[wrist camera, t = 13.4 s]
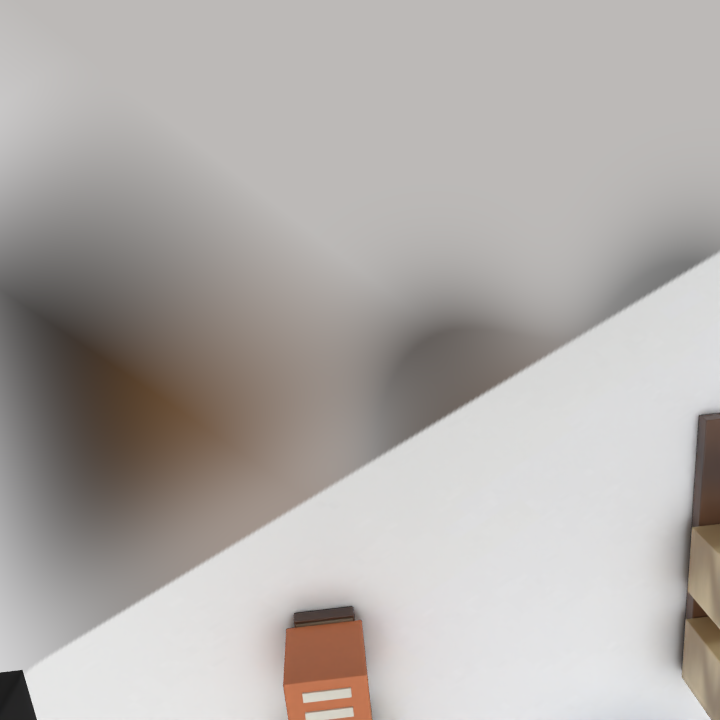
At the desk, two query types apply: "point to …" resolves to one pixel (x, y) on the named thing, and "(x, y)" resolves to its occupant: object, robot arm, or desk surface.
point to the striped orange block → (326, 673)
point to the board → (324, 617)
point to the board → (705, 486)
